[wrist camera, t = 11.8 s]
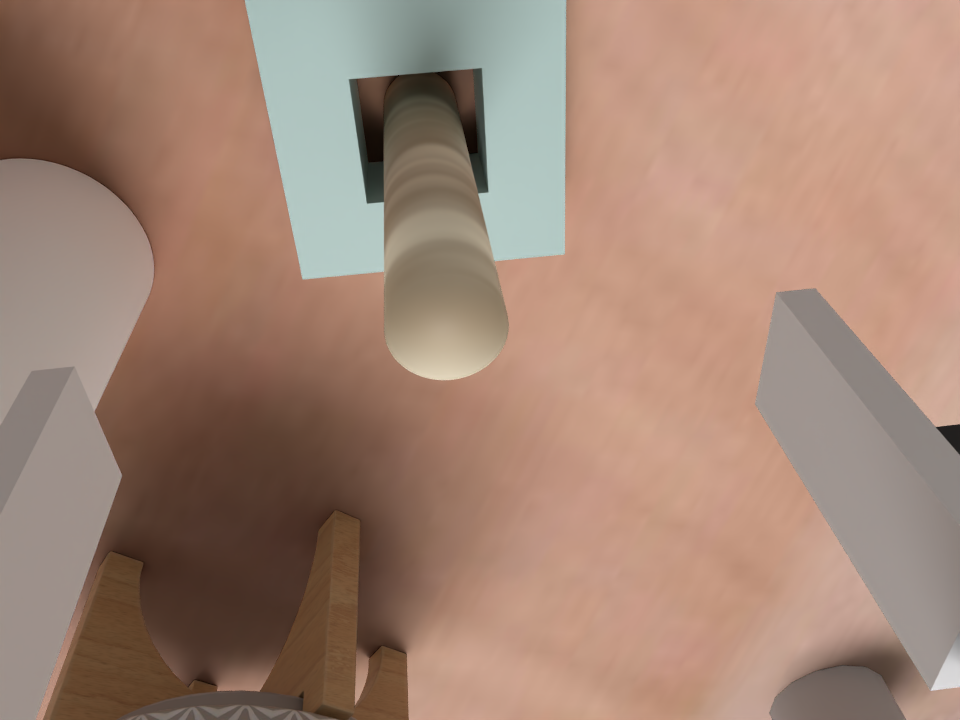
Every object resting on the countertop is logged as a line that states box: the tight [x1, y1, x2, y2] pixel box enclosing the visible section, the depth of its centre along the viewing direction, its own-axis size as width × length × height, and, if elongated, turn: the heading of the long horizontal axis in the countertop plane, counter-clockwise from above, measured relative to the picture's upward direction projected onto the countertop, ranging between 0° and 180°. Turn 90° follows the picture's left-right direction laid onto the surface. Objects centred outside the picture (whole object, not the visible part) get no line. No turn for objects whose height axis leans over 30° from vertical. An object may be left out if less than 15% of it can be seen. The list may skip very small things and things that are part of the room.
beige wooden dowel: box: [384, 72, 509, 380], centre depth 25 cm, size 3×3×16 cm
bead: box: [245, 0, 566, 279], centre depth 30 cm, size 10×10×4 cm
